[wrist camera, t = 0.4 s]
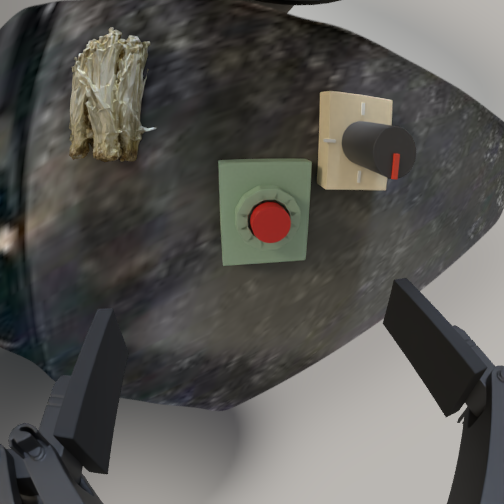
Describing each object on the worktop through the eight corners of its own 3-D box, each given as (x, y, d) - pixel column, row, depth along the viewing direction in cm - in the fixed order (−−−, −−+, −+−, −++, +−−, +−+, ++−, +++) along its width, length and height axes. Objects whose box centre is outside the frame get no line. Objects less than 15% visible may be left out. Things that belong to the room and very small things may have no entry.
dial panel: (314, 91, 30) (324, 90, 27) (383, 100, 31) (397, 101, 29) (311, 183, 35) (321, 190, 32) (377, 184, 36) (390, 190, 33)
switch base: (218, 160, 32) (219, 166, 29) (305, 158, 34) (317, 164, 30) (222, 257, 38) (224, 273, 34) (300, 252, 39) (310, 267, 35)
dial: (342, 119, 29) (376, 123, 23) (381, 123, 30) (420, 130, 23) (340, 163, 31) (372, 178, 25) (378, 165, 32) (415, 181, 25)
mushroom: (155, 157, 31) (145, 166, 26) (77, 159, 30) (57, 169, 25) (165, 33, 25) (157, 20, 20) (84, 40, 23) (65, 31, 19)
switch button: (249, 202, 31) (252, 207, 30) (287, 200, 32) (291, 205, 30) (250, 237, 33) (252, 244, 31) (286, 235, 34) (290, 242, 32)
